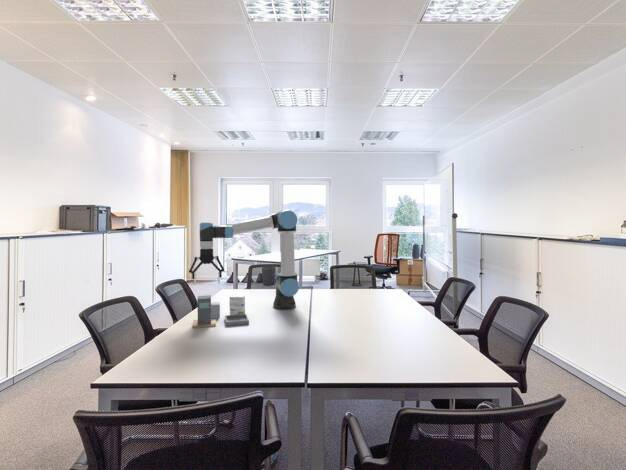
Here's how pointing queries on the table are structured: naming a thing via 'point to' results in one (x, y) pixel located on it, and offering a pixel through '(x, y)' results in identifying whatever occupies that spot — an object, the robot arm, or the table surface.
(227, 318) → the tray
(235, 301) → the ink box
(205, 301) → the mounted unit
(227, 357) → the table surface
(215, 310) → the grey block
